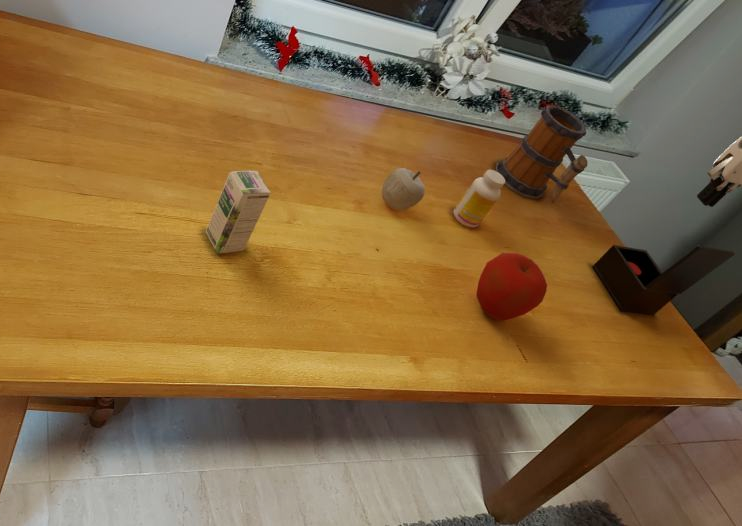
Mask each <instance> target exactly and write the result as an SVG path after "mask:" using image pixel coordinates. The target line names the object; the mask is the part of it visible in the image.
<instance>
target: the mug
mask: <svg viewBox="0 0 742 526" xmlns="http://www.w3.org/2000/svg"><path fill="white" fill-rule="evenodd" d="M540 114H541V116H540V118H539V119H538V121H536V123H535V125H534V126H533V127H532V129H531V130H530V132H529V133H528V134H525V135H524V137H523V138H522V139H521V141H520V142H519V144H518V145H517V146H516V147H515V148H514V150H512V151H511V152H510V153H509V155H508V156H506V157H504V158H503V159H502V160H501V161H499V162H497V163H495V170H494V171H496V172H498V173H500V174H501V175H502V176H503V177H504V179H505V183H504V185H505V186H506V187H508V188H509V189H510V191H512V192H515V193H517V194H519V195H520V196H522V197H525V198H528V199H534V200H537V199H539V198H541V197H543V196H544V194H545V191H547V189H548V186H547V184H548V182H549V181H550V180H552V181H553V182H554V183H555V187H554V189H553V191H552V194H551V204H554V203H555V202H556V200H557V199H558V198H559V196H560V195H561V194H563V191H565V190H567V189H568V187H569V185H570V184H571V182H572V181H573V180H574V179H575V178H576V177H577V176H578V175H580V174H581V173H582V172H584V171H585V169H586V168H587V167H588V159H587V157H586V156H585V155H583V154H581V155H579V156H578V157H577V158H576V157H575V154H574V153H573V151H572V148H573V146H575V144H576V143H577V142H578V141H580V140H581V139H582V138H583V137H585V136H586V135H587V126H586V125H585V124H584V122H583V121H582V120H581V118H579V117H578V116H577V115H576V114H574V113H573V112H571V111H570V110H568V109H565V108H564V107H562V106H557V105H553V104H552V105H551V104H550V105H548V106H546V107H545V108H544V109H542V110H541V112H540ZM565 156H567V158H568V159H569V161H570V163H569V165H568V166H567V168H566V169H565V170H564V171H563V172H562V173H561V175H560V177H558V176H556V175H554V173H555V171H556V170H557V168H558V167H559V166H560V165H561V164H562V162H563V161H564V157H565Z"/></svg>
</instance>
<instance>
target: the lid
mask: <svg viewBox="0 0 742 526" xmlns="http://www.w3.org/2000/svg"><path fill="white" fill-rule="evenodd" d="M735 255H736V253H735V251H732V250H726V249H722V248H715V247H709V246H704V245H700V244H699V245H697V246H696V247H694V248H693V249H691V251H689V252H688V253H687V254H685V255H684V256H682V257H681V258H680V259H679V260H677V261H676V262H675V263H673V264H672V265H671V266H670V267H668V268H667V269H666V270H665V271H662V274H661V275H659V276H658V277H657V278H656V279H654V280H653V281H652V282H650V283H649V284H648V285H647V286H645V288H646V289H647V290H654V291H662V292H669V293H676V294H678V295H681V294H683V293H684V292H685V291H687V290H688V289H689V288H691V287H693V286H694V285H695V284H697V283H698V282H699V281H701V280H702V279H704V278H705V277H706V276H708V275H710V274H711V272H713V271H715V270H716V269H717V268H718V267H720V266H721V265H722V264H724V263H726V262H727V261H728V260H729V259H731V258H732V257H734V256H735Z"/></svg>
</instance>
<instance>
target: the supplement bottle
mask: <svg viewBox="0 0 742 526" xmlns="http://www.w3.org/2000/svg"><path fill="white" fill-rule="evenodd" d="M504 183H505V179H504V177H503V176H502V175H501V174H500V173H498V172H496V171H495V170H494V169H487V170H486V171H485V172H484V174H483V176H481V177H480V176H479V177H477V178H476V179H474V180H473V182H472V183H471V185H470V186H469V188H468V189H467V190H466V191H465V193H464V195H462V197H461V199H459V201H458V202H457V204H456V206H455V207H454V209H453V215H454V218H455V219H456V220H457V221H458V222H459V223H460V224H461V225H463V226H465V227H467V228H476V227H478V226H479V225H480V224H481V223H482V221H483V220H484V219H485V217H486V216H487V215H488V213H489V212H490V210H491V209H493V207H494V206H495V204H496V203H497V201H498V200H499V199H500V198H501V194H502V191H501V188H502V187H503V186H504V185H505V184H504Z"/></svg>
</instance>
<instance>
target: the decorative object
mask: <svg viewBox="0 0 742 526" xmlns="http://www.w3.org/2000/svg"><path fill="white" fill-rule="evenodd" d="M421 173H422V171H421V170H418V171H417V172H416V173H414V172H413V171H412V170H410V169H408V168H405V167H399V168H395V169H393V170H392V171H391V172H390V173H389V174H388V175H387V177H386V178H385V180H384V182H383V185H382V188H381V197H382V199H383V201H384V203H385V204H386V205H387V207H389V208H390V209H392V210H395V211H406V210H408V209H411V208H413V207H415V206H417V204H419V203H420V202H421V201H422V200H423V198H424V197H425V194H426V193H425V192H426V187H425V184H424V183H423V181H422V180H421V179H420V177H419V175H420V174H421Z"/></svg>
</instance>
